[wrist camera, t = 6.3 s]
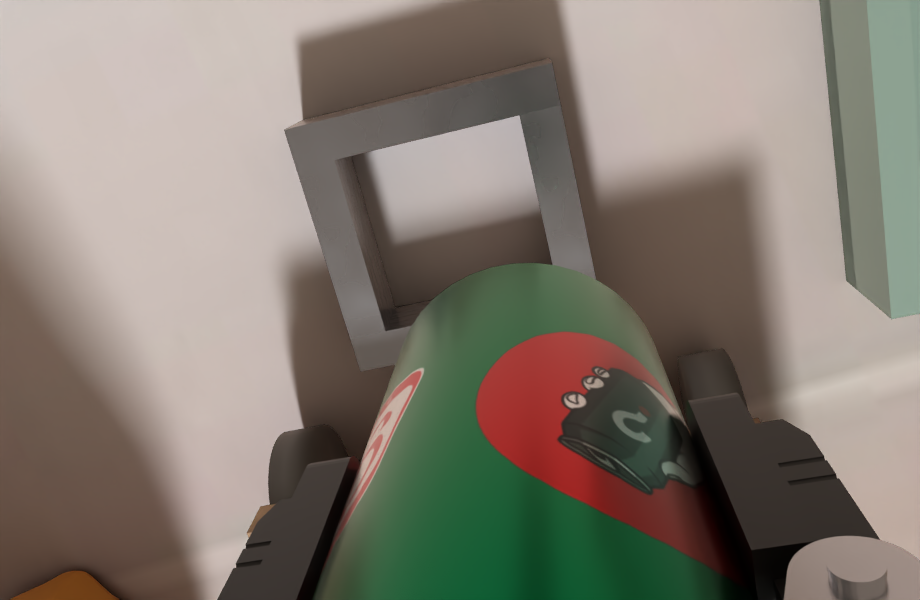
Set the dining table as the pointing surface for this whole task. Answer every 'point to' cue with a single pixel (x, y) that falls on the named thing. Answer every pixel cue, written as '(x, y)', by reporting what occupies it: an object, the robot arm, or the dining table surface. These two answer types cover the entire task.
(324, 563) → the robot arm
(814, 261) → the dining table surface
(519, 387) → the soda can
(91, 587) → the coffee package
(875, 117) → the tray
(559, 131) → the frame
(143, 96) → the dining table surface
